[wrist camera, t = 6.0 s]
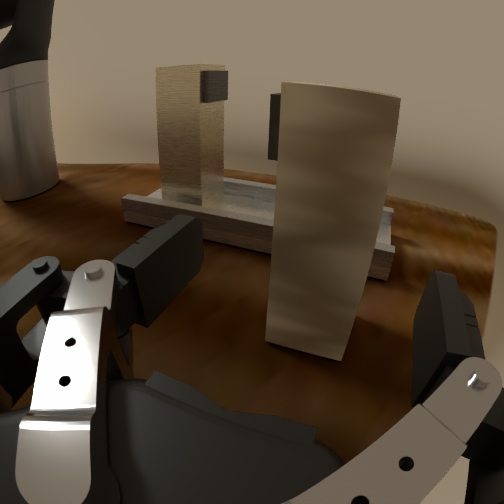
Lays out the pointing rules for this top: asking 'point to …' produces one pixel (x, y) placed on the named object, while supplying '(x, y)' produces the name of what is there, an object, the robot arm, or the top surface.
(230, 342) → the top surface
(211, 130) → the rail
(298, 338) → the beige tall rectangular block
